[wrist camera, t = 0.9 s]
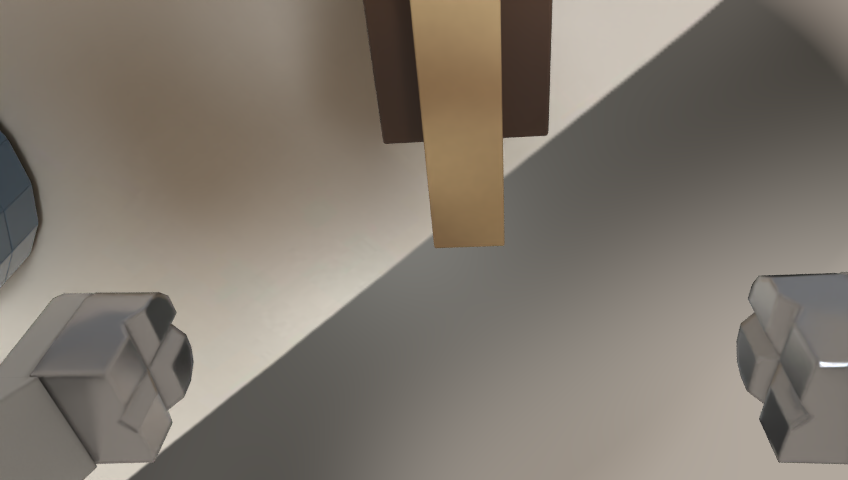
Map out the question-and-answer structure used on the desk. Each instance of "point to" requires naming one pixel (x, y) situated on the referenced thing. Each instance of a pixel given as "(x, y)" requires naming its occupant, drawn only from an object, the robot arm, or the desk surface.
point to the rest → (520, 58)
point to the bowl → (14, 212)
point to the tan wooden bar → (461, 118)
